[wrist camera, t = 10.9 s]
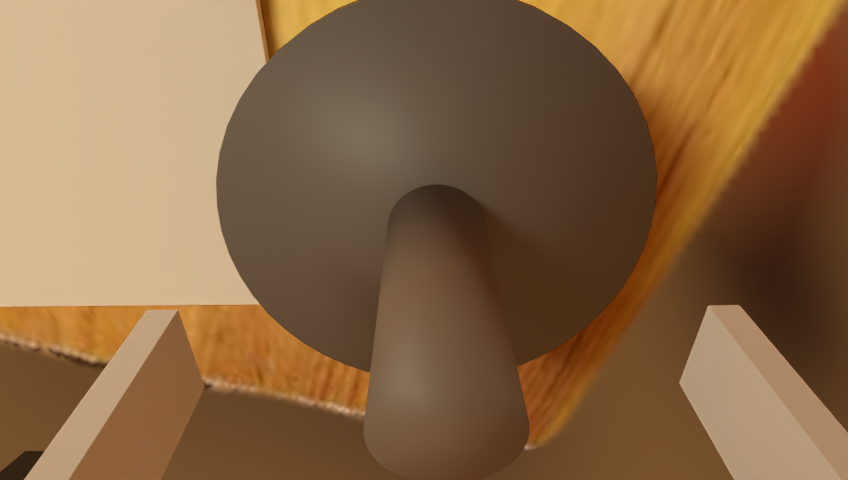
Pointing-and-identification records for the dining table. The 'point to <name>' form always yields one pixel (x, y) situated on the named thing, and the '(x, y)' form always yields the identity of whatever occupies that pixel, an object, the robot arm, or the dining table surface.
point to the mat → (119, 148)
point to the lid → (437, 210)
